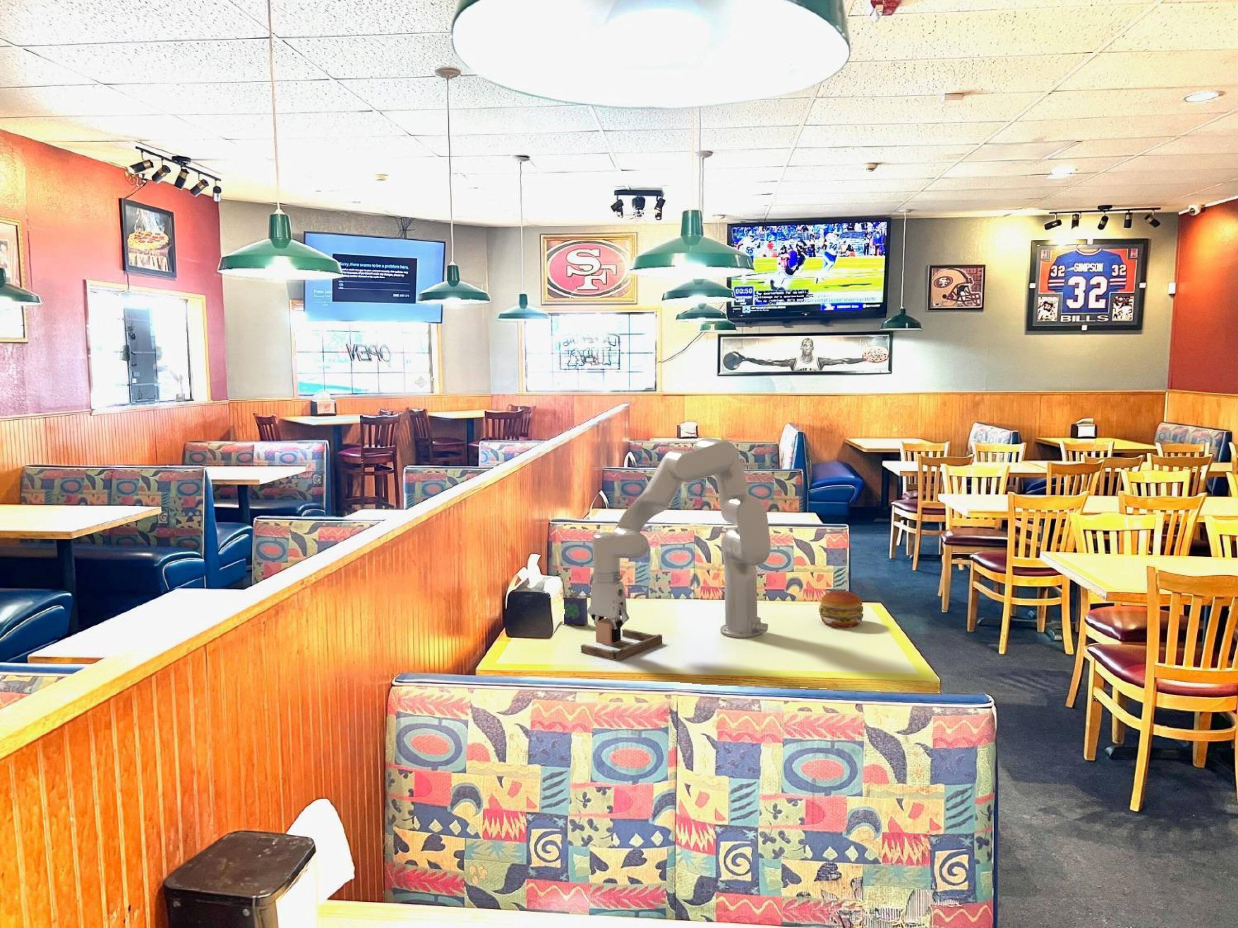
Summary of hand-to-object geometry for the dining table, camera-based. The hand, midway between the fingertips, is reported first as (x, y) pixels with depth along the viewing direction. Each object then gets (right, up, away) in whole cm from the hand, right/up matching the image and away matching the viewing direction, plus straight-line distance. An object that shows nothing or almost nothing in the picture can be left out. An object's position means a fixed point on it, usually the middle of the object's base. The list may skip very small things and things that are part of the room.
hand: (608, 639), depth 251 cm
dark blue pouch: (-11, -1, +29) cm, 31 cm away
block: (0, -1, 0) cm, 1 cm away
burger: (+71, 0, +21) cm, 74 cm away
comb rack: (+3, -3, +4) cm, 6 cm away
